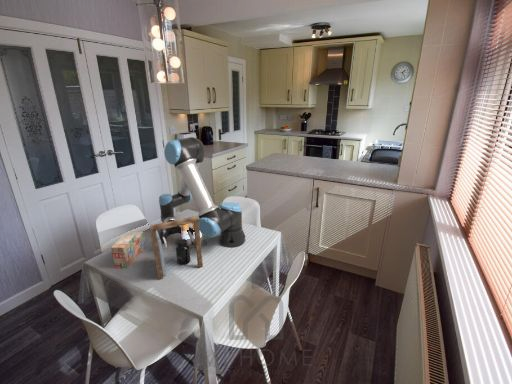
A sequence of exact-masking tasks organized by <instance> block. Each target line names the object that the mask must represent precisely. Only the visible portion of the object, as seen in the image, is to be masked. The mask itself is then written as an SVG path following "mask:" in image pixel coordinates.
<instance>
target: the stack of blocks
mask: <svg viewBox="0 0 512 384" xmlns="http://www.w3.org/2000/svg"><path fill="white" fill-rule="evenodd" d="M145 239H146V237H145V234H144V231H132V232H131V233H130V234H123V235H122V236H121V237H120V238H119V239H118V240H117V241H116V242H115V243H114V244H113V245H112V246H110V251H111V255H112V260H113V263H114V268H115V269H124V268H125V269H129V268H130V266H131V265H132V264H133V262H135V260H136V259H137V257H139V254H141V253H142V252H143V250H144V249H145V248H146V240H145Z"/></svg>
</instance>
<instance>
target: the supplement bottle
mask: <svg viewBox="0 0 512 384" xmlns="http://www.w3.org/2000/svg"><path fill="white" fill-rule="evenodd" d="M176 244H177V245H176V246H175V256H176V262H177V264H178V266H179V265H180V266H185V265H188V264H190V263H191V260H192V258H191V248H190V245H189V244H188V239H186V238H181V239H178V240H177V241H176Z"/></svg>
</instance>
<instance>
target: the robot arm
mask: <svg viewBox="0 0 512 384" xmlns="http://www.w3.org/2000/svg"><path fill="white" fill-rule="evenodd" d="M205 148H206V147H205V146H204V144H203V141H201V140H200V139H199V138H196V137H193V136H189V137H185V138H180V139H179V138H177V139H174V140H170V141H168V142H166V144H165V147H164V151H163V152H164V158H165V160H166V162H167V163H168V164H170V165H174V168H175V169H176V170H179V171H180V174H181V176H182V177H181V180H180V185H179V188H178V191H177V193H175V194H173V195H172V194H171V193H163V194H161V195H159V197H158V203H159V209H160V221H161V222H162V223H165V222H170V221H175V220H177V219H176V218H175V212H174V208H177V207H178V206H182V205H186V204H188V203H189V202H191V201H192V200H193V201H194V203H195V205H196V207H197V210H198V215H197V216H198V219H199V230H200V234H202V235H203V236H206V237H207V238H210V239H211V238H215V237H217V236H219V235H220V236H219V238H218V240H219V244H220V245H221V246H224V247H226V248H237V247H239V246H242V245H244V244H245V242H246V235H245V232H244V229H243V220H242V218H243V216H242V214H243V213H242V212H243V210H242V206H241V204H239V203H238V202H234V201H233V202H232V201H228V202H223V203H221V204H220V206H218V205H216V204H215V203H214V201H213V199H212V196H211V194H210V192H209V190H208V188H207V186H206V183H205V181H204V180H203V177H202V175H201V173H200V171H199V168H200V165H201V163H203V162H204V158H205V155H206V149H205ZM181 227H182V226H181V225H180V226H175V227H171V228H166V229H161V230H160V232H158V234H159V237H160V240H161V244H162V245H163V244H164V247H165V248H168V245H167V241H166V239H168V238H169V237H170V236H172V235H174V234H182V233H181ZM188 227H189V230H187V232H188V234H187V235H188V238H190V240H191V241H192V242H193V241H194V234H193V232H194V230H193V229H194V227H193V228H192V227H190V226H188Z"/></svg>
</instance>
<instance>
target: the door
mask: <svg viewBox="0 0 512 384" xmlns="http://www.w3.org/2000/svg"><path fill="white" fill-rule="evenodd" d="M158 231H159V230H157V231H156V234H157V241H158V247H159V254H160V261H161V267H162V274H163V277H164V276H166V275H167V272H166V265H165V258H164V252H163V244H162V243H161V240H160V237H159V232H158Z"/></svg>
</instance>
